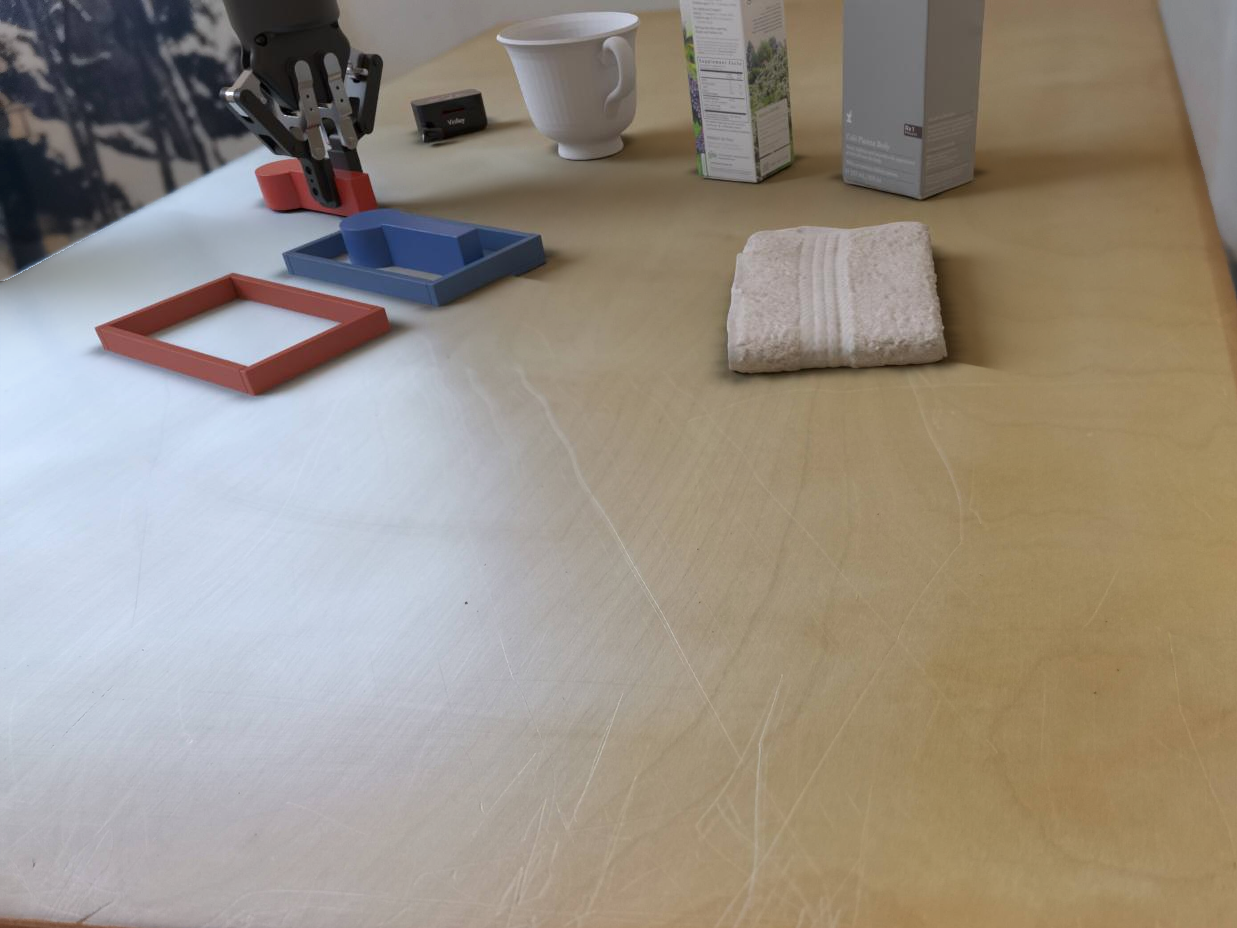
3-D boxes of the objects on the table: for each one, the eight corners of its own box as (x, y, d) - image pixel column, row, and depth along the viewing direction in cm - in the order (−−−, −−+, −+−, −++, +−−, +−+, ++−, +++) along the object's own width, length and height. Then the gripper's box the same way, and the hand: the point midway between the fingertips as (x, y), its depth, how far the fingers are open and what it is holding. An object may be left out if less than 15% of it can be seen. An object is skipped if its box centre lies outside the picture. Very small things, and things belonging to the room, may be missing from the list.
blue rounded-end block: (338, 265, 79) (324, 222, 77) (387, 244, 82) (374, 202, 80) (454, 289, 74) (442, 243, 72) (502, 266, 76) (491, 221, 75)
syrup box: (738, 158, 95) (716, -40, 86) (797, 164, 92) (782, -39, 83) (698, 178, 91) (671, -26, 82) (759, 185, 88) (739, -26, 79)
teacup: (583, 187, 91) (557, 51, 85) (498, 155, 101) (470, 31, 95) (704, 152, 97) (688, 23, 91) (614, 125, 106) (594, 6, 100)
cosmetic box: (840, 184, 87) (828, -52, 77) (902, 161, 91) (898, -68, 81) (924, 204, 82) (921, -47, 72) (986, 178, 85) (991, -64, 76)
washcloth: (928, 253, 74) (927, 205, 72) (953, 374, 59) (953, 318, 57) (746, 266, 74) (741, 218, 72) (728, 388, 60) (721, 333, 58)
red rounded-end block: (255, 206, 93) (241, 169, 91) (300, 190, 95) (287, 153, 94) (348, 224, 87) (335, 185, 85) (392, 207, 90) (381, 168, 88)
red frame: (107, 356, 70) (93, 327, 69) (243, 299, 76) (232, 272, 75) (258, 403, 63) (245, 372, 61) (394, 337, 69) (384, 307, 68)
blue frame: (290, 280, 78) (281, 253, 77) (399, 235, 85) (391, 209, 84) (440, 314, 71) (432, 284, 70) (546, 262, 78) (541, 234, 77)
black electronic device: (410, 139, 108) (400, 103, 106) (481, 123, 111) (473, 88, 109) (425, 148, 105) (415, 111, 103) (498, 132, 108) (489, 96, 106)
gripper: (312, -63, 85) (379, 173, 96) (145, -33, 76) (239, 223, 87) (378, -62, 82) (440, 183, 92) (211, -31, 73) (301, 236, 83)
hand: (342, 202), depth 89 cm, fingers closed on red rounded-end block
